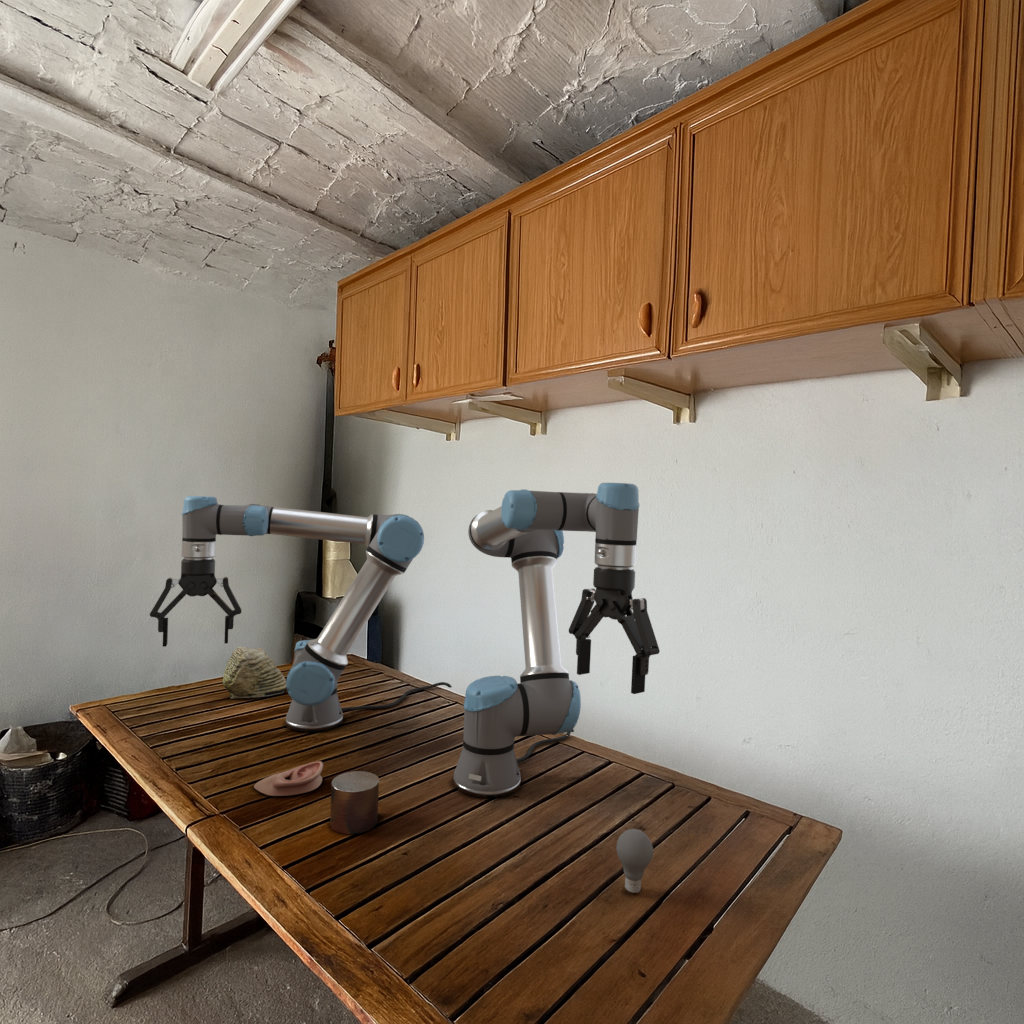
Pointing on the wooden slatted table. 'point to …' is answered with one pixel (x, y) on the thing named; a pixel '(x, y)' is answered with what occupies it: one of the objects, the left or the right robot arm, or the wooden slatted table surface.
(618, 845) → the light bulb
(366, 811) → the tin
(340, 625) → the left robot arm
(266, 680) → the fossil
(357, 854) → the wooden slatted table surface
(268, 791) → the anatomical model
